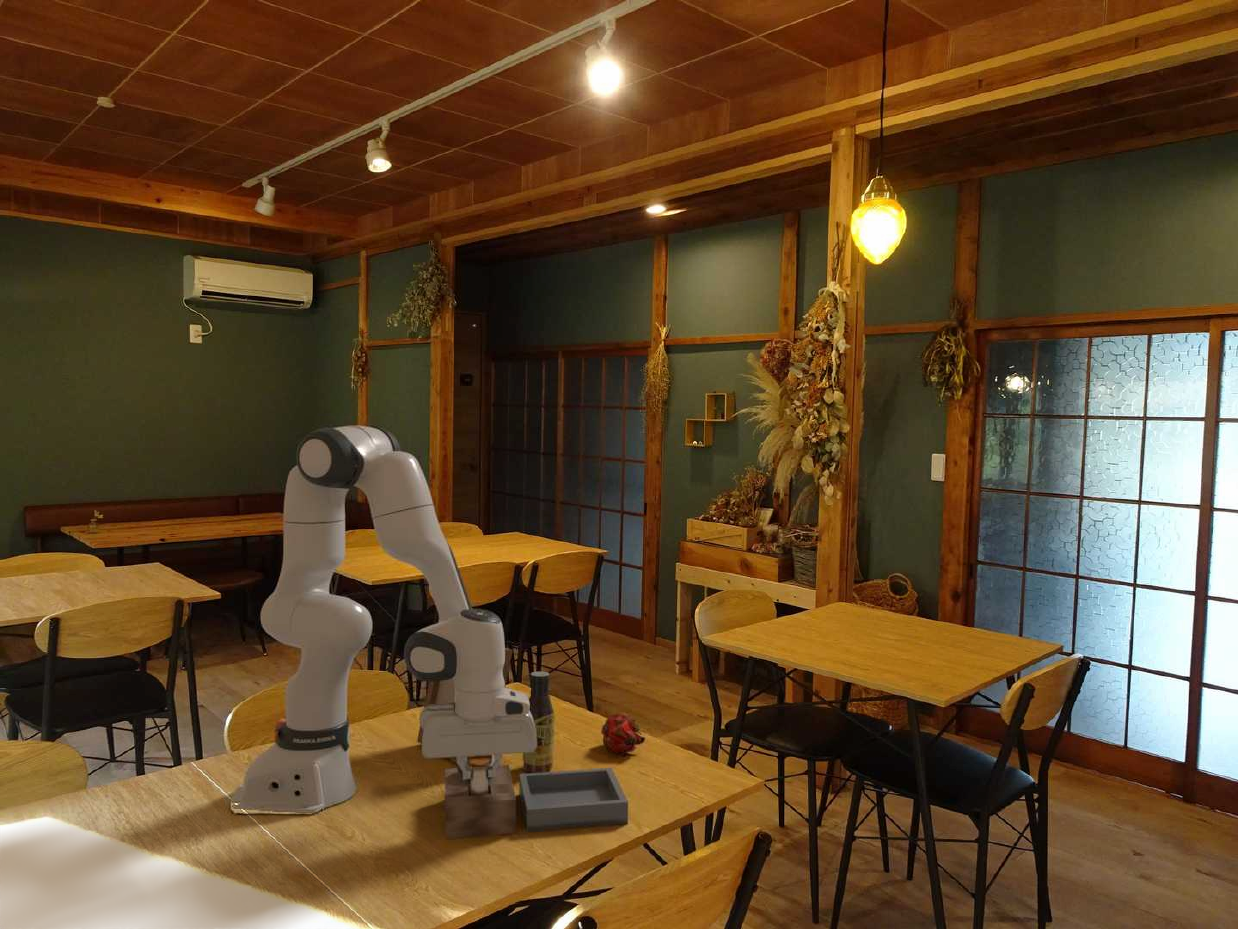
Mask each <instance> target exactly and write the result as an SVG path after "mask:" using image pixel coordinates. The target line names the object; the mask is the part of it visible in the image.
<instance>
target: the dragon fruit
mask: <svg viewBox="0 0 1238 929" xmlns="http://www.w3.org/2000/svg"><path fill="white" fill-rule="evenodd" d="M635 722H636V719H635V718H634V716H628V715H627V714H626V713H624V712H618V713H614V714H611V715H610V716H609V717H608V718H607V719H606V720H605V723H604V724H603V725H602V727H601V732H600V733H601V735H602V736H603V738H602V743H603V746H604V748H605V749H608V748H610V749H611V750H612V752H614V754H615V755H617V754H619V755H618V756H621V755H622V756H625V755H626V754H625V751H627V752H631V753H632V752H634V751H635V750H637V745H638V746H639V745H642V744H643V743H644V742H645V740H646V737H645V736H641V735H642V733H641V731H640V728H639V725H638V724H636V723H635Z"/></svg>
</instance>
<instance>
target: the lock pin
mask: <svg viewBox="0 0 1238 929" xmlns="http://www.w3.org/2000/svg"><path fill="white" fill-rule="evenodd" d="M492 756H493V755H479V756H467V764H468V765H469V766H471V796H473V795H486V794H488V765H490V764H491V763H492Z"/></svg>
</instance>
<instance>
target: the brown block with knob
mask: <svg viewBox="0 0 1238 929" xmlns="http://www.w3.org/2000/svg"><path fill="white" fill-rule="evenodd" d="M494 761H495V758H494V755H492V763H491V764H490V765H488V766H492V765H493V763H494ZM464 764H465V766H466V767H471V766H469V765H468V764H467V756H466V757H465V761H464ZM456 766H457V767H453V768H445V769H444V788H445V789H444V793H445V794H444V801H445V802H444V803H445V804H444V805H445V807H444V808H445V809H444V810H445V839H446V840H447V839H448V840H449V839H458V838H460V839H461V838H472V837H483V836H485V837H486V836H497V835H498V836H499V835H507V834H508V835H509V834H517V833H516V832H517V830H516V829H517V824H516V823H517V820H516V819H517V815H516V814H517V811H516V810H517V800H516V793H515V788H514V783H513V778H512V773H511V768H510V765H509V764H500V765H499V766H498V768H497V769H496V778H493V779H488V794H486V795H473V796H471V780H463V771H462V770H461V768H460V767H459V765H458V764H457V763H456Z"/></svg>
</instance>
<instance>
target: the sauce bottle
mask: <svg viewBox="0 0 1238 929" xmlns="http://www.w3.org/2000/svg"><path fill="white" fill-rule="evenodd" d="M529 678H530V679H529V681H530V696H529V698H528V699H529V703H530V709H529V710H530V712H531V714H532V717H533V720H534V724H535V730H536V739H537V747H536V748H535V750H534V751H533V752H530V753H522V761H523V766H522V767H523V770H524V771H526V772H527V773H542V772H550V770H552V768H553V763H554V743H555V740H554V739H555V738H554V736H555V712H554V708H553V704H552V701H551V698H550V681H551V680H550V679H551V675H550V673H549V672H547V671H533V672H531V673H530V676H529Z"/></svg>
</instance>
